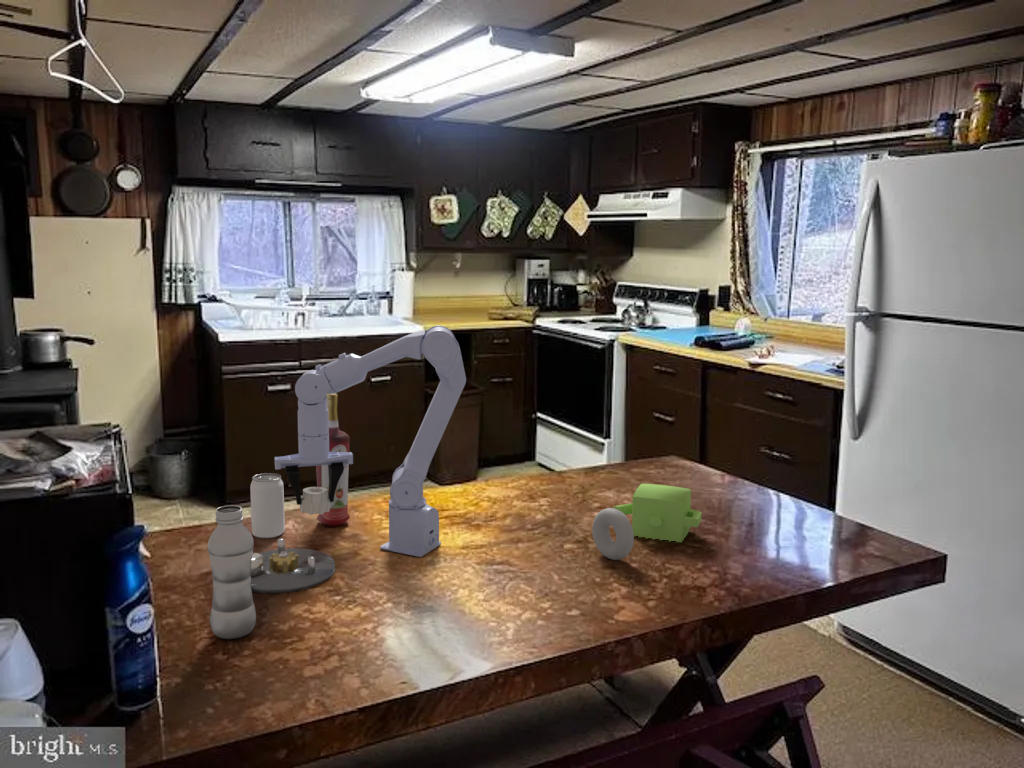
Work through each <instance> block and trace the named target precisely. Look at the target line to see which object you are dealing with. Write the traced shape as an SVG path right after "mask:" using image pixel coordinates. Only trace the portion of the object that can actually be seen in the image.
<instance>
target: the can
mask: <svg viewBox="0 0 1024 768" xmlns="http://www.w3.org/2000/svg"><path fill="white" fill-rule="evenodd" d="M251 479H252V481H251V483H250V485H249V487H250V489H249V490H250V514H251V515H250V517H251V535H252V536H254V537H255V538H258V539H264V538H265V540H266V539H274V538H278V537H280V536H282V535H283V534H284V532H285V529H286V526H285V522H286V521H285V519H286V518H285V496H284V494H285V493H284V492H285V491H284V481H283V480H282V475H281V474H279V473H274V472H273V473H271V472H269V473H268V472H264V473H260V474H255V475H254V476H252V477H251Z"/></svg>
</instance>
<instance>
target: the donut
mask: <svg viewBox="0 0 1024 768" xmlns="http://www.w3.org/2000/svg"><path fill="white" fill-rule="evenodd" d="M591 527H592V529H591V531H592V539H593V542H594V544H595V546H596V547H597V550H598V551H599V552H600V553H601V555H602V556H604V557H605V558H607V559H609V560H613V561H618V560H622V559H625V558H626V557H627V556H628V555H630V553H631V551H632V549H633V548H634V541H635V536H634V532H633V529H632V522H630V520H629V518H628V517H627V515H625V514H624V513H622V512H621V511H619V510H617V509H614V507H607V508H604V509H601V510H600V511H599V512H598V513H597V514H596V515H595V517H594V519H593V522H592V526H591ZM611 527H612V529H613V530H614V533H615V541H614V540H613V538H612V537H611V533H610V529H611Z"/></svg>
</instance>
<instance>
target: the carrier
mask: <svg viewBox="0 0 1024 768" xmlns="http://www.w3.org/2000/svg"><path fill="white" fill-rule="evenodd" d="M335 572H336V561H335V560H334V558H333V557H332V556H331V555H329V554H328V553H326V552H323V551H318V550H315V549H309V548H296V547H295V548H293V547H292V548H285V538H282V537H281V538H277V549H273V550H266V551H264V552H259V553H257V552H253V554H252V562H251V575H250V576H251V589H252V593H259V594H284V593H285V594H287V593H293V592H298V591H304V590H306V589H307V588H308V589H310V588H313V586H314V587H316V586H319V585H321V584H323V583H325V582H326V581H328V580H329V579H330V578H332V576H333V575H334V574H335ZM303 589H304V590H303ZM308 589H307V590H308Z"/></svg>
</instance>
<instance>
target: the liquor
mask: <svg viewBox="0 0 1024 768" xmlns="http://www.w3.org/2000/svg"><path fill="white" fill-rule="evenodd" d="M326 396H327V408H328V416H329V452H350V435H349V434H348V433H346V432H345V431H342V430H340V427H339V418H338V403H339V402H338V398H339V397H338V393H335V394H327V395H326ZM343 466H344V471H343V473H342V475H341V477H340V479H339V482H338V484H337V487H336V491H335V495H334V502H330V508H329V512H325V513H323V514H321V515H320V514H317V517H316V520H317V521H318V522H319V523H321V524H322V525H323V526H324V527H327V528H328V527H329V528H336V527H337V528H338V527H341V526H343V525H345V524H346V523H347V522H348V520H349V519H350V518H351V517H350V514H349V512H348V511H349V510H348V509H349V508H348V507H349V502H348V500H349V499H348V498H349V497H348V495H349V470H350V469H349V466H350V464H343ZM315 473H316V485H317V486H316V487H322V488H326V489H327V490H328V492H329V471H328V465H318V466H315ZM328 497H329V496H328Z"/></svg>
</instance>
